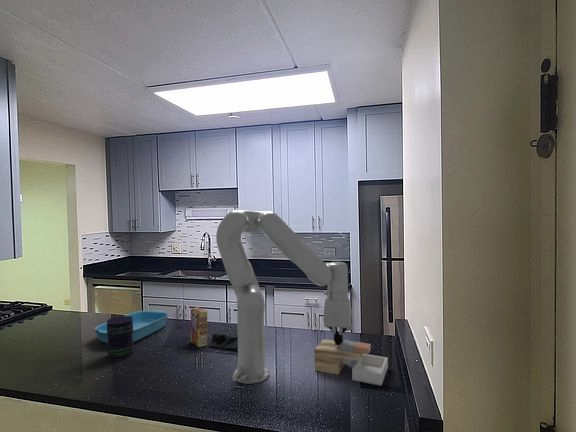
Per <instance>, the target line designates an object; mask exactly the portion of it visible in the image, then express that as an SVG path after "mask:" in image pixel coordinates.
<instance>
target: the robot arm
mask: <svg viewBox="0 0 576 432" xmlns="http://www.w3.org/2000/svg"><path fill="white" fill-rule="evenodd" d="M243 233H247V234H248V233H249V234H250V233H251V234H252V233H253V234H255V233H256V234H262V235H264V236H265V238H267V239H268V241H270V242H271V244H273V245H274V246H275V247H276V249H277V250H278V251H279V252H280V253H281V254H283V256H284V257H286V259H288V260H289V261H290V262H292V263H293V264H294V265H296V266H297V267H298V268H299V269H300V270H301V271H302V272H303V273H304V274H305V275H306V277H307V278H308V280H310V281H311V282H312V283H313V284H314V285H316V286H318V287H325V286H327V290H326V291H325V290H324V291H323V295H325V296H326V298H325V300H324V305H323V317H322V318H323V319H322V320H323V327H325V328H327V329H329V330H331V332H332V334H333V340H334V342H335V345H339V346H340V344H341V343H342V342H343V341H344V339H343V337H344V335H343V334H344V333H345V332H346V331H347V332H348V331H352V330H353V329H354V328H353V311H352V304H351V299H350V298H349V283H348V282H349V281H348V277H349V276H348V275H349V274H348V270H349V269H348V264H347V263H346V262H343V261H331V262H325V261H323V260H322V259H321V258H320V257H319V256H318V255H317V254H316V253H315V252H314V251H313V250H312V249H311V248H310V247H309V246H308V245H307V244H306V243H305V242H304V240H303V239H301V237H299V235H297V233H296V232H295V231H294V230H292V228H291V227H290V226H289V225H288V224H287V223H286V222H285V221H284V220H283V219H282V218H281V217H280V216H279V215H278V214H277V213H276V212H274V211H270V210H266V211H265V210H264V211H263V210H261V211H259V210H258V211H257V210H246V209H245V210H243V209H233V210H230V211H229V212H228V213H227V214H226V215H225V216H224V217H223V219H221V222H219V225H218V227H217V231H216V236H215V237H216V238H215V239H216V245H217V249H218V252H219V255H220V258H221V260H222V264H223V266H224V269H225V272H226V277H227V279H228V281H229V283H231V286H232V288H233V291H234V293H235V296H236V297H235V298H236V318H237V320H236V321H237V328H236V329H237V336H238V351H237V367H236V368H237V369H235V371H234V372H233V374H232V376H231V380H232V381H233V382H238V383H241V384H245V385H247V384H248V385H250V384H251V385H254V384H258V383H261V382H264V381H265V380H267V379H268V378H269V375H270V371H269V369H268V368H267V367H266V366H265V364H266V362H265V360H266V359H265V357H266V356H265V311H266V310H265V309H266V307H265V306H266V305H265V298H264V295H263V293H262V290H261V287H260V285H259V282H258V279H257V277H256V274H255V272H254V269H253V266H252V264H251V261H249V258H248V256H247V254H246V252H245V251H246V250H245V248H244V246H243V245H244V244H243V241H242V234H243Z"/></svg>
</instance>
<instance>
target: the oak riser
mask: <svg viewBox="0 0 576 432" xmlns="http://www.w3.org/2000/svg"><path fill="white" fill-rule="evenodd" d="M313 351H314V353H313V354H314V371H319V372H322V373H328V374H333V375H340V374H341V372H342V370H343V369H344V367H345V366H346V364H347V363H346V360H350V361H351V360H352V361H359V360H360V358H361V356H362V354H361V353H356V352H348V351H343V350H340V346H339V345H335V342H334V339H333V340H332V339H325V338H323V339H322V340H321V341H320V342H319V343H318V344H317V345H316V347H315V348H314V350H313Z"/></svg>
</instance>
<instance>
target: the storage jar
mask: <svg viewBox="0 0 576 432" xmlns="http://www.w3.org/2000/svg"><path fill="white" fill-rule="evenodd" d="M132 320H133V317H131V316H125V315H122V316H116V317H111V318H109V319H107V321H106V322H107V335H108V343H106V346H107V348H106V352H107V360H108V361H121V360H122V359H123V360H126V359H129V358H130V357H133V355H134V342H133V339H132V332H133V321H132Z"/></svg>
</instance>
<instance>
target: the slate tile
mask: <svg viewBox="0 0 576 432" xmlns="http://www.w3.org/2000/svg"><path fill="white" fill-rule="evenodd" d="M357 342H358V341H351V340H348V339H343V342H342V343H341V344H340V350H343V351H348V352H354V346H355V344H356V343H357Z"/></svg>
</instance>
